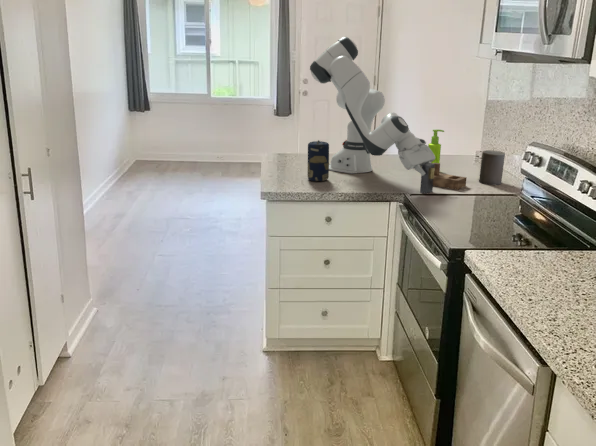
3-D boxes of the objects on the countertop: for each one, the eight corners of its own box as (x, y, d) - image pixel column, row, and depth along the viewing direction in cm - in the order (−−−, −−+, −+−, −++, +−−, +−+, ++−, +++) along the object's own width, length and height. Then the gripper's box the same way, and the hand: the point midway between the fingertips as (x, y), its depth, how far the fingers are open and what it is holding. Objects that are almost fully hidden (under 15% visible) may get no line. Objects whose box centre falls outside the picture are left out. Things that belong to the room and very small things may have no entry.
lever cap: (420, 192, 247) (422, 164, 244) (425, 190, 251) (428, 162, 247) (428, 194, 245) (430, 166, 241) (434, 192, 249) (436, 164, 245)
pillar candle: (475, 182, 265) (479, 149, 260) (483, 178, 272) (487, 146, 267) (497, 186, 259) (501, 152, 254) (504, 182, 267) (508, 149, 262)
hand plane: (426, 184, 261) (427, 164, 259) (434, 181, 267) (436, 161, 264) (457, 189, 252) (459, 169, 249) (465, 186, 258) (467, 166, 255)
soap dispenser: (441, 172, 284) (444, 130, 278) (426, 172, 285) (429, 130, 279) (440, 170, 289) (444, 129, 283) (426, 169, 290) (429, 128, 284)
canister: (331, 178, 270) (332, 139, 264) (323, 183, 262) (324, 142, 256) (312, 176, 274) (313, 137, 268) (303, 181, 265) (304, 141, 260)
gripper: (401, 145, 239) (421, 173, 236) (426, 139, 254) (445, 165, 251) (391, 155, 243) (410, 182, 240) (416, 148, 258) (435, 173, 255)
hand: (428, 173), depth 245 cm, fingers open, 5 cm apart
